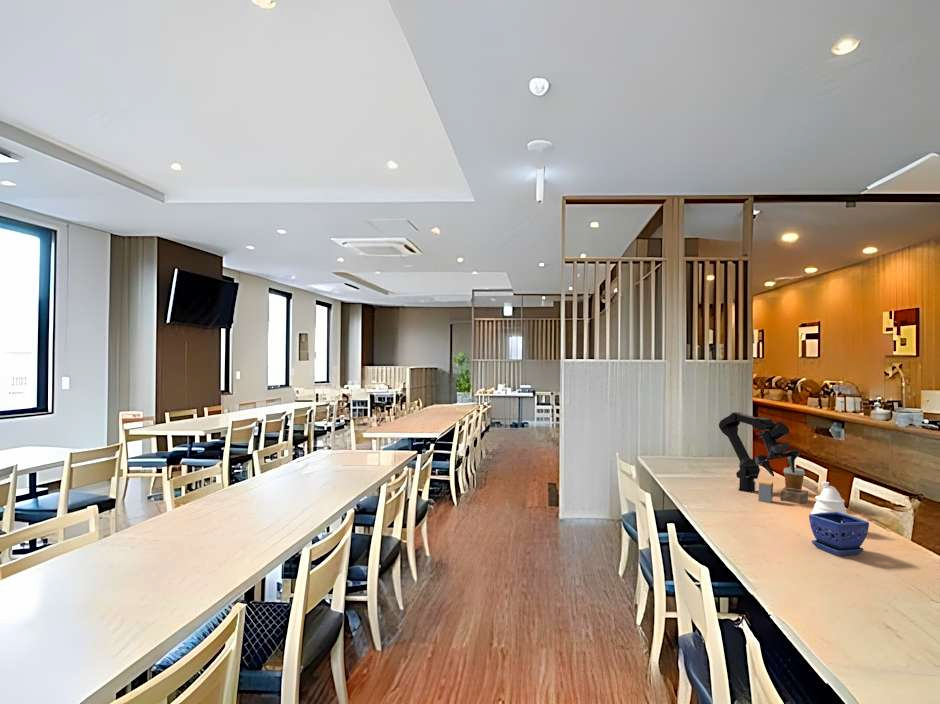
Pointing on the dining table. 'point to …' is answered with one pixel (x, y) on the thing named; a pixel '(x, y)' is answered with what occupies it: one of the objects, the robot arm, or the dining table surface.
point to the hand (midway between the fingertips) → (783, 474)
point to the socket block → (794, 495)
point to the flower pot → (838, 532)
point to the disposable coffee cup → (793, 478)
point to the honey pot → (829, 501)
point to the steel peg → (765, 491)
